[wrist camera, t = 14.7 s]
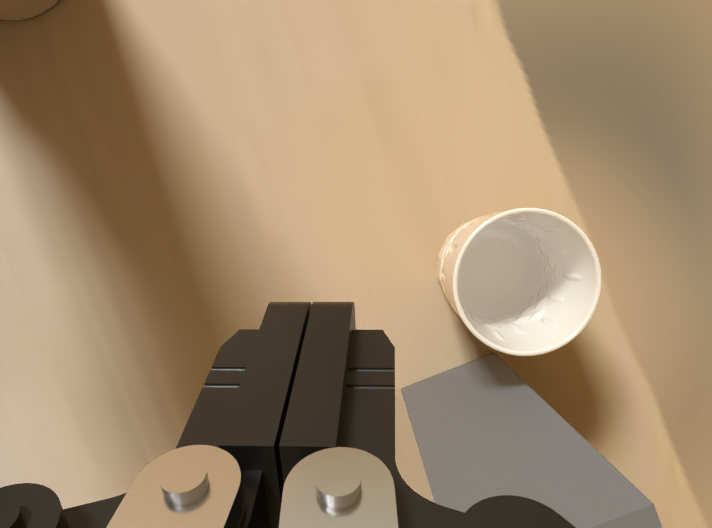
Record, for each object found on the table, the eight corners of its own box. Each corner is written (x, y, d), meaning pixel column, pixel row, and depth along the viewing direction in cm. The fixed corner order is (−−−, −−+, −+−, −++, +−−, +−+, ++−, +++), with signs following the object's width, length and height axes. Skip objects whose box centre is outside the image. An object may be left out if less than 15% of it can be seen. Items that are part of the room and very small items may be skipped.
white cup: (475, 345, 42) (514, 386, 32) (404, 258, 41) (422, 272, 31) (563, 274, 42) (632, 293, 32) (494, 186, 41) (541, 176, 31)
